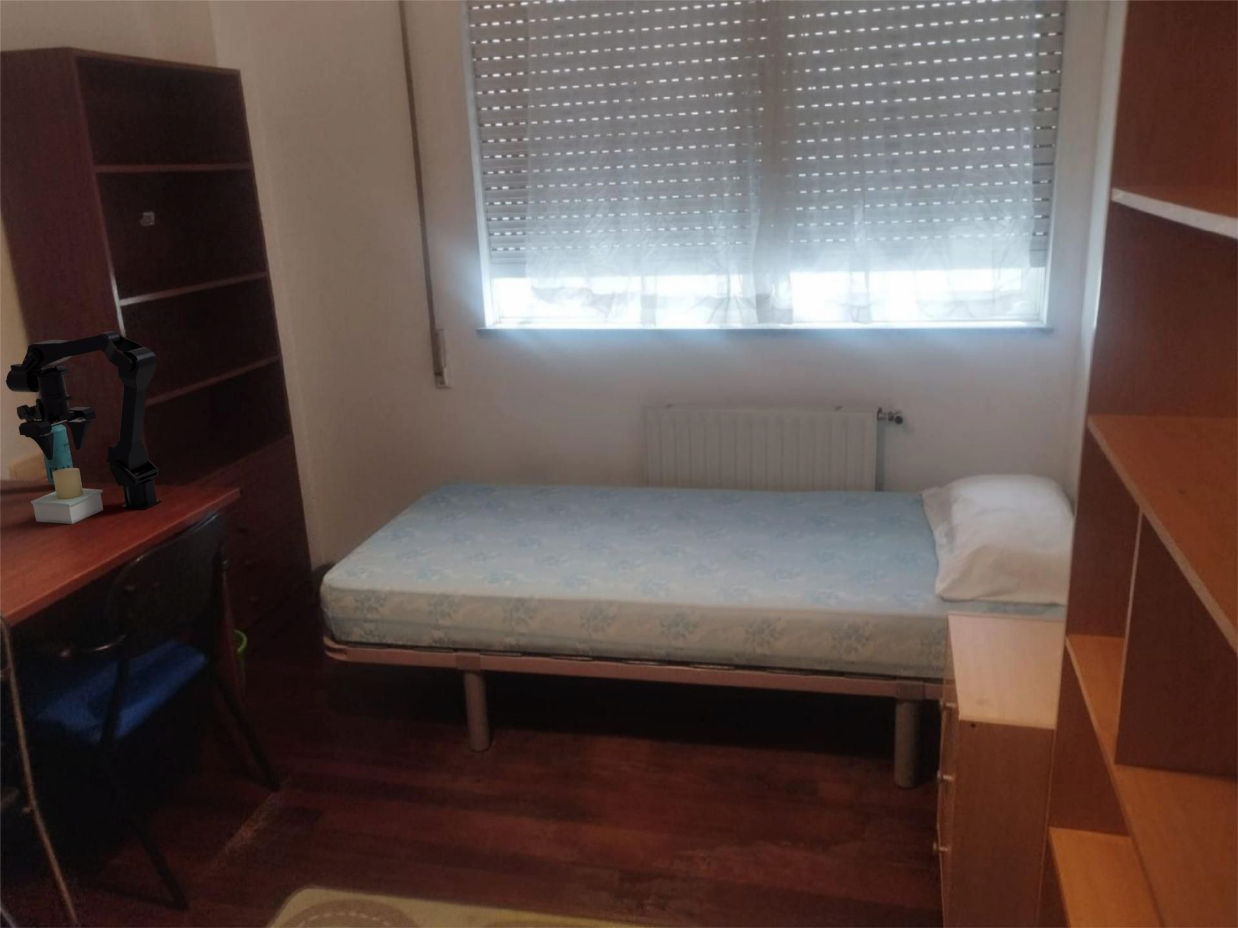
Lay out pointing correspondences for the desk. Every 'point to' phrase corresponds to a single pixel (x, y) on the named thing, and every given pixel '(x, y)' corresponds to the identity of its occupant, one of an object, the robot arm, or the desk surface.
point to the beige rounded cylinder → (67, 483)
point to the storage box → (68, 511)
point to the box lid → (53, 500)
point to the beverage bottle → (58, 453)
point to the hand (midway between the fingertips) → (64, 454)
